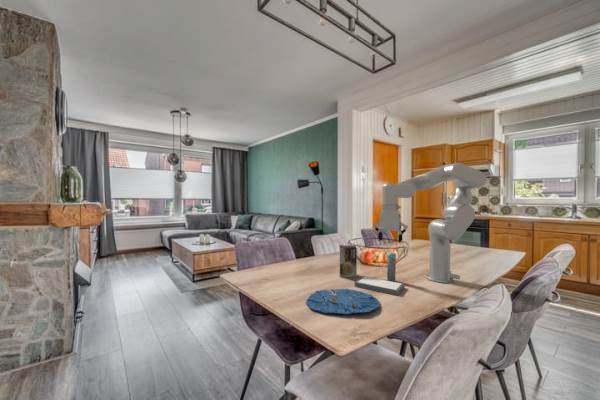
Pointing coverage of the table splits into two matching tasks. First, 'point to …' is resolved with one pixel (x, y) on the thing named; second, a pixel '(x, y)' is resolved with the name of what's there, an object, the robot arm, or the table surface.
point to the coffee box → (347, 261)
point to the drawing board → (380, 285)
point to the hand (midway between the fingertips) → (390, 241)
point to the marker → (391, 266)
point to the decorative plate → (342, 301)
